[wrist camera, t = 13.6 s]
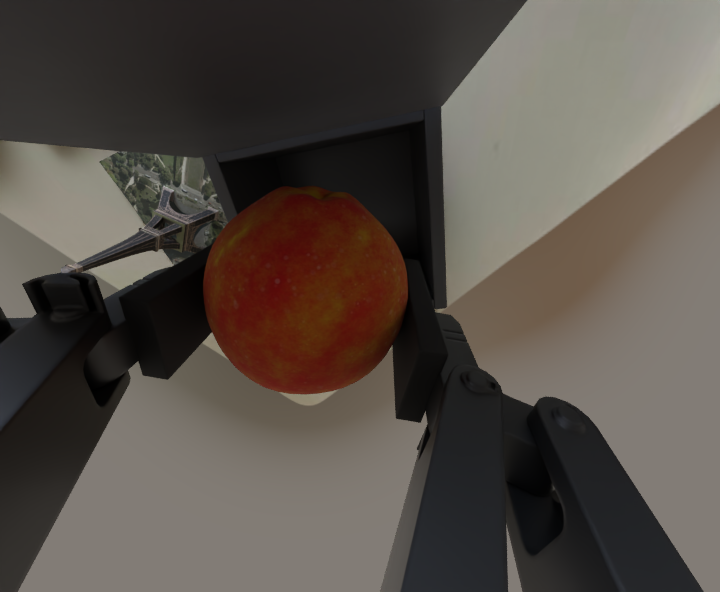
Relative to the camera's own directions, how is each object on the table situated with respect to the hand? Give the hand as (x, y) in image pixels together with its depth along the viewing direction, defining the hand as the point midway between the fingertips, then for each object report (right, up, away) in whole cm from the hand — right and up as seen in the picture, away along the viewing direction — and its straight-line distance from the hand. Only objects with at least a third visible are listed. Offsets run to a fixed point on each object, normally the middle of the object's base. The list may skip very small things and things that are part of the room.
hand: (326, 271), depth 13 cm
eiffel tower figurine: (-14, +6, +14) cm, 21 cm away
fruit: (0, +2, -5) cm, 5 cm away
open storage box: (+1, +7, +12) cm, 14 cm away
